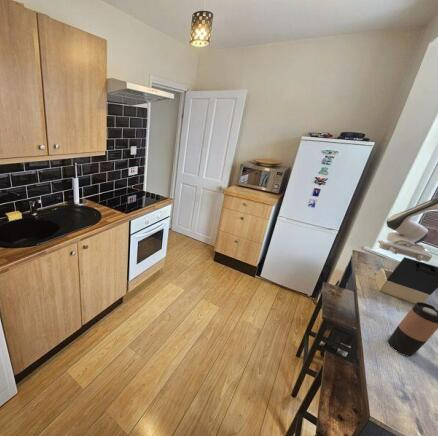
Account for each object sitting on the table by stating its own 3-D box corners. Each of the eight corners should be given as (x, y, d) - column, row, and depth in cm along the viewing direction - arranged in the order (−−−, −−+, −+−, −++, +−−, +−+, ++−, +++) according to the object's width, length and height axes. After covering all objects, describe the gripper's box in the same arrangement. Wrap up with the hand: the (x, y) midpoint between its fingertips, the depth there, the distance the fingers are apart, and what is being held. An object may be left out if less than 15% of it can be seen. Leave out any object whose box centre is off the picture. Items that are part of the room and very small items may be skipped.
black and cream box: (404, 257, 109) (405, 262, 106) (452, 271, 101) (456, 277, 98) (386, 279, 117) (387, 285, 114) (430, 294, 109) (432, 300, 106)
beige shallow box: (374, 277, 131) (380, 267, 128) (412, 289, 123) (420, 280, 120) (379, 290, 120) (386, 280, 117) (421, 305, 112) (429, 295, 109)
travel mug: (389, 349, 88) (419, 311, 79) (384, 335, 94) (412, 298, 85) (416, 361, 84) (451, 322, 76) (410, 346, 90) (442, 308, 81)
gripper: (380, 235, 138) (384, 244, 128) (428, 247, 127) (437, 258, 117) (375, 244, 141) (379, 253, 130) (422, 257, 130) (430, 268, 120)
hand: (407, 256), depth 124 cm, fingers open, 8 cm apart
